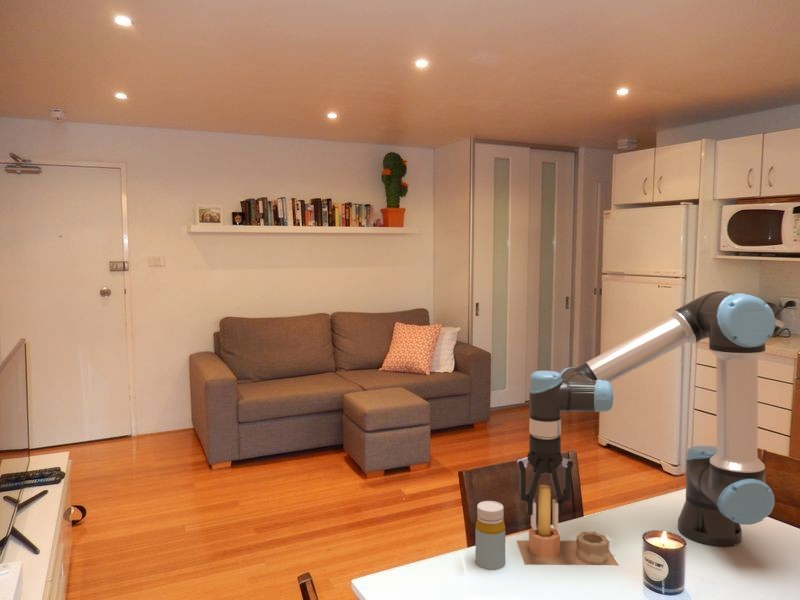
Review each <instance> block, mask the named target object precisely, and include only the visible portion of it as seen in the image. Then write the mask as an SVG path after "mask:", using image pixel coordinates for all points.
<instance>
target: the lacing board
mask: <svg viewBox="0 0 800 600" xmlns="http://www.w3.org/2000/svg"><path fill="white" fill-rule="evenodd" d="M516 542H517V543H516V544H517V546H518V549H519V552H520V555H521V558H522V560H523V563H524V565H527V566H528V565H530V566H533V565H534V566H536V565H537V566H539V565H540V566H544V565H545V566H546V565H547V566H619V563H618V562H617V560H616V558H615V556H614V555H613V553H612V552H611V551H610V550H609V560H607V561H606V562H605V563H603V564H590V563H587V562H585V561H582V560H580V559H579V558H578V556H577V554H576V540H560V553H559V554H557V555H556V556H554V557H540V556H537V555H535V554H532V553H531V551H530V549H529V539H528V540H525V539H524V540H522V539H521V540H518V539H517V540H516Z"/></svg>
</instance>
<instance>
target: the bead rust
mask: <svg viewBox="0 0 800 600" xmlns="http://www.w3.org/2000/svg"><path fill="white" fill-rule="evenodd" d="M528 540H529V549H530V551H531V553H532V554H535V555H537V556H540V557H554V556H556V555H557V554H559V553H560V541H561V534H560V532H559V531H558V530H555V529H554V527H551V537H542V536H539V535H538V525H536V530H533V529H532V527H531V528H529V529H528Z"/></svg>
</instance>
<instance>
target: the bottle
mask: <svg viewBox="0 0 800 600" xmlns="http://www.w3.org/2000/svg"><path fill="white" fill-rule="evenodd" d="M476 506H477V508H476V510H477V511H476V512H477V513H476V514H477V515H476V516H477V520H476V521H475V527H474V528H475V565H476V566H478V567H479V568H480V569H484V570H489V571H496V570H500V569H502V568H504V567H505V565H506V525H505V524H506V523H505V522H504V515H505V514H504V512H505V511H504V505H503V504H502V503H500V502H499V501H494V500H484V501H480V502H479V503H477V505H476Z"/></svg>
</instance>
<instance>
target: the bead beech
mask: <svg viewBox="0 0 800 600" xmlns="http://www.w3.org/2000/svg"><path fill="white" fill-rule="evenodd" d="M575 537H576V540H575V541H576V554H577V556H578V558H579V559H580V560H582V561H585V562H587V563H590V564H603V563H605V562H606V561H607V560H609V551H610V541H609V539H608V538H607V536H606V535H604V534H601V533H598V532H596V531H582V532H580V533H578V534H576V535H575Z"/></svg>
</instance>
